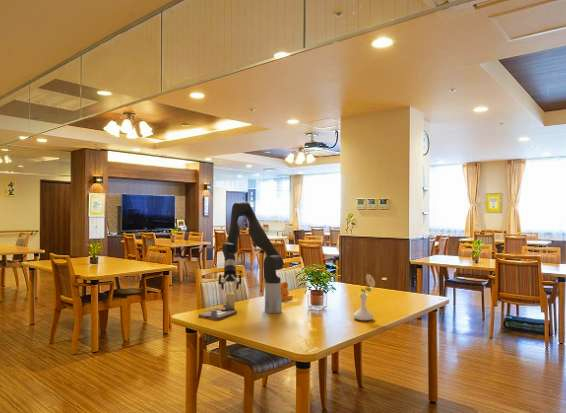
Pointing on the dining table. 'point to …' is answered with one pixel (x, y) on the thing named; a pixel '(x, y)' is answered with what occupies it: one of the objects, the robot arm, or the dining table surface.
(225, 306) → the drive shaft
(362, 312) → the flower in vase
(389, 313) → the dining table surface
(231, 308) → the coupler
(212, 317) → the coupling base
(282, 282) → the bracket
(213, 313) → the driven shaft
